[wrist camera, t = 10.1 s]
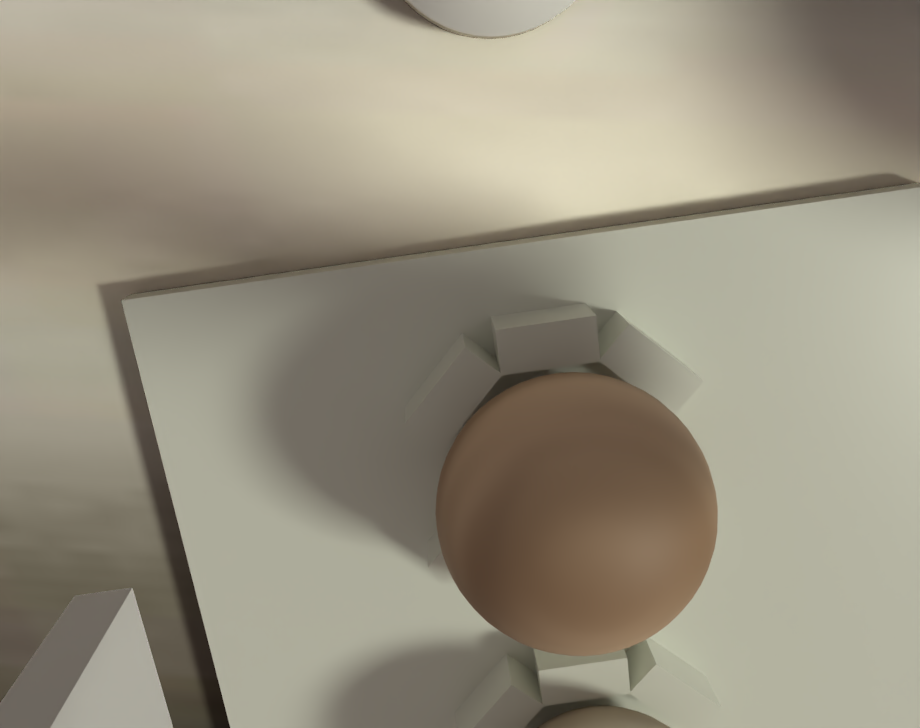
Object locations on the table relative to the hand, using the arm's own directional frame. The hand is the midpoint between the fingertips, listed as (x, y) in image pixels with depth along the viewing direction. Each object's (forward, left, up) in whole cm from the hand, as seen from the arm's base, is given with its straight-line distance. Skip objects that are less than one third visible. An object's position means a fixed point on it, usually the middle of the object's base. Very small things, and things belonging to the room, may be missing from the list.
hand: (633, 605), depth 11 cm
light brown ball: (0, 0, -6) cm, 6 cm away
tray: (+8, 0, -7) cm, 11 cm away
